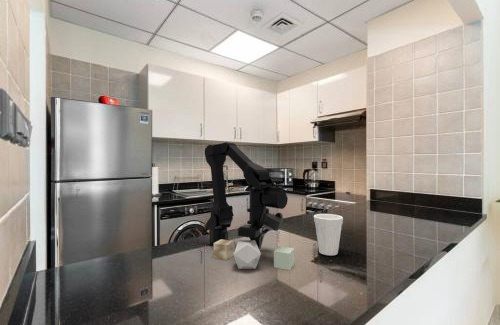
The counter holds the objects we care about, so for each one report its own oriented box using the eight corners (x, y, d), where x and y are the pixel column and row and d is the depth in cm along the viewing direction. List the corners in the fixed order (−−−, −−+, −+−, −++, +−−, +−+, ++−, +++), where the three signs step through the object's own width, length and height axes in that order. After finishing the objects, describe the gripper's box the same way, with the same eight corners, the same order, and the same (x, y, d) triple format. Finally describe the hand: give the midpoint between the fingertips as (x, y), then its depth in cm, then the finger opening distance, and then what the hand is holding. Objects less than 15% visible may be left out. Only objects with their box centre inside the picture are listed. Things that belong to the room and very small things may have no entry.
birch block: (213, 258, 82) (213, 243, 82) (221, 253, 86) (221, 239, 87) (226, 260, 80) (226, 245, 80) (233, 255, 84) (233, 241, 85)
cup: (344, 251, 89) (344, 215, 89) (342, 260, 80) (341, 220, 80) (316, 247, 93) (316, 212, 93) (311, 255, 84) (311, 217, 84)
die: (251, 278, 68) (268, 246, 72) (225, 261, 70) (243, 231, 73) (250, 276, 76) (265, 248, 79) (227, 261, 77) (242, 234, 81)
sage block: (273, 267, 74) (273, 251, 74) (279, 261, 79) (279, 246, 79) (290, 270, 72) (289, 253, 72) (294, 264, 77) (294, 248, 77)
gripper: (270, 211, 71) (270, 266, 70) (289, 203, 88) (288, 247, 87) (236, 208, 76) (236, 259, 75) (260, 201, 92) (260, 242, 92)
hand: (257, 251), depth 82 cm, fingers closed
